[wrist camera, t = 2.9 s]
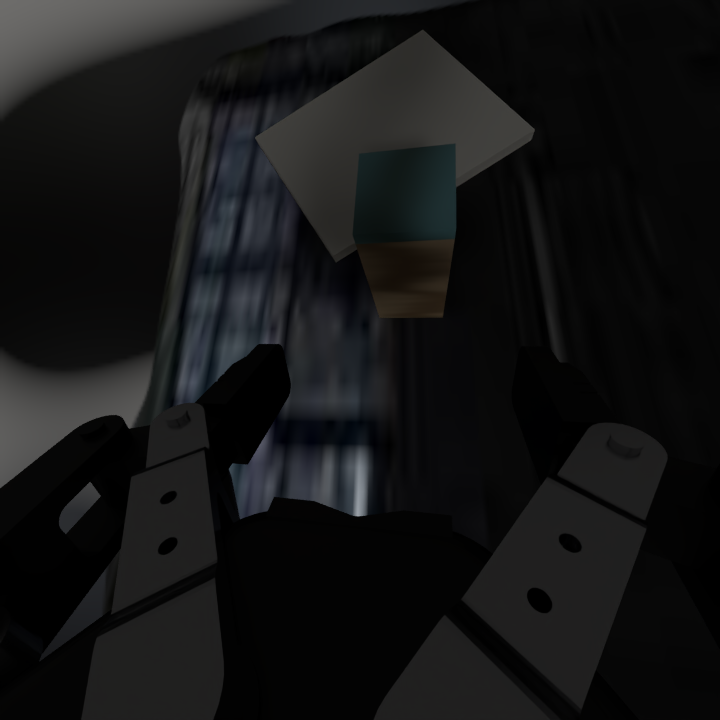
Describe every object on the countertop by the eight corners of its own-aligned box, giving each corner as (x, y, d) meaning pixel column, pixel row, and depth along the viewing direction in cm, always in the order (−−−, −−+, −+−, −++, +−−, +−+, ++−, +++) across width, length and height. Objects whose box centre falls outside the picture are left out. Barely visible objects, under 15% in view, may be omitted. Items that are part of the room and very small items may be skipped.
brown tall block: (442, 261, 27) (455, 143, 17) (442, 317, 26) (456, 228, 15) (382, 263, 28) (359, 153, 18) (379, 317, 27) (352, 234, 16)
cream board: (422, 41, 34) (422, 29, 33) (530, 140, 28) (534, 129, 27) (259, 146, 34) (254, 137, 33) (335, 262, 29) (332, 256, 28)
